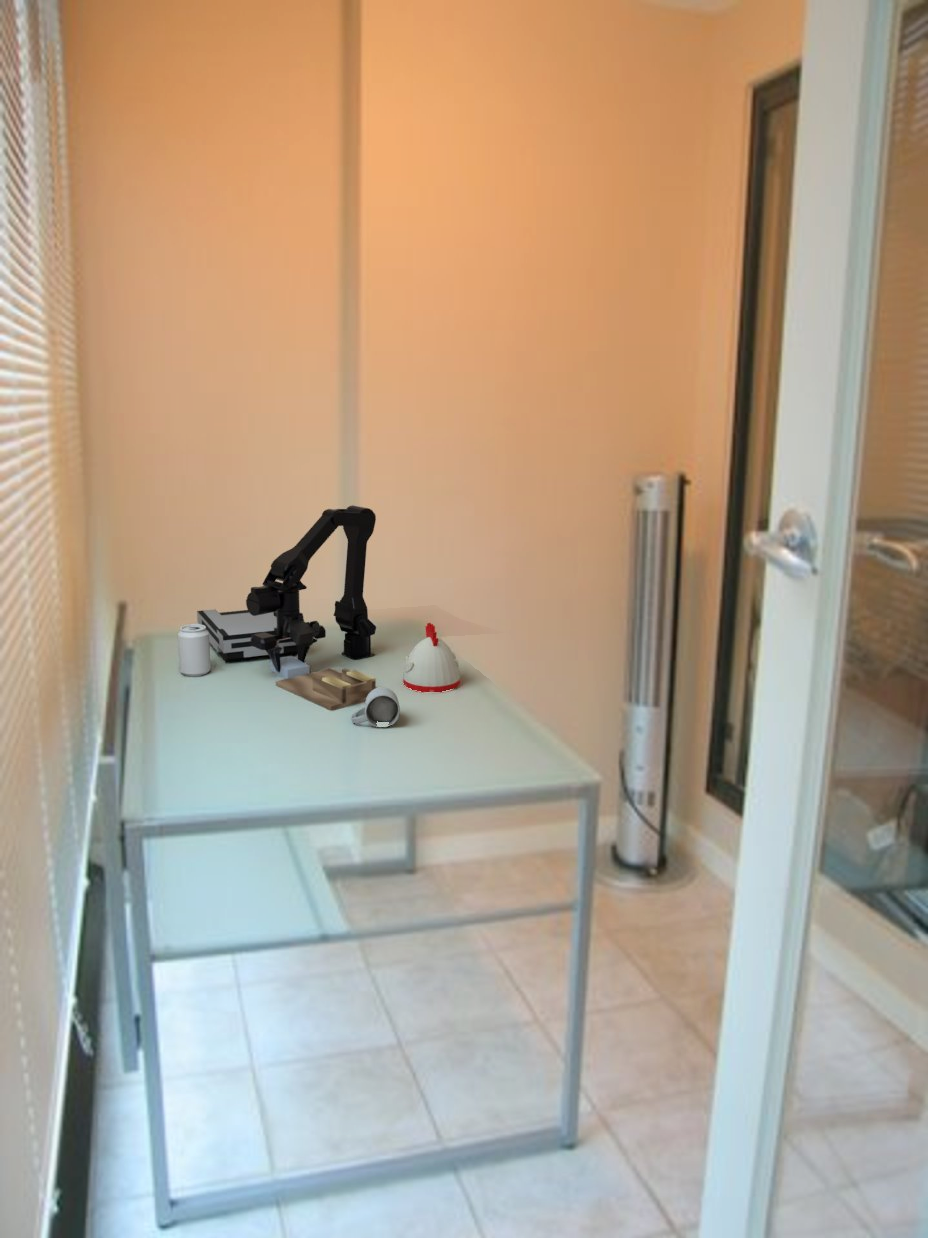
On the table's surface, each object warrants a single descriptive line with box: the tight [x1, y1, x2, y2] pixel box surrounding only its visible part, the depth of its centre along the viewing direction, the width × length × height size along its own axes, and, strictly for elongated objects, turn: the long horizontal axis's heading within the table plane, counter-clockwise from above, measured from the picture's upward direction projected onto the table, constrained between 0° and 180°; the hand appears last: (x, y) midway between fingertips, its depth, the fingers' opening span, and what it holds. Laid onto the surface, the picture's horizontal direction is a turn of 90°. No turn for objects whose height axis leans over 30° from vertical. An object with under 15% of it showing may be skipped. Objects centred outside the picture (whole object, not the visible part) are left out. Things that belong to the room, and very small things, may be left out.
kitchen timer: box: [402, 622, 461, 693], centre depth 255 cm, size 14×14×15 cm
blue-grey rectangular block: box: [269, 655, 311, 679], centre depth 263 cm, size 6×10×3 cm, turn 35°
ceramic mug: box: [350, 686, 401, 728], centre depth 230 cm, size 11×8×8 cm
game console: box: [196, 608, 297, 664], centre depth 285 cm, size 21×32×8 cm, turn 25°
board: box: [275, 668, 378, 712], centre depth 250 cm, size 16×23×5 cm
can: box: [177, 623, 212, 677], centre depth 261 cm, size 8×8×12 cm
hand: (289, 668), depth 263 cm, fingers closed on blue-grey rectangular block, 6 cm apart
